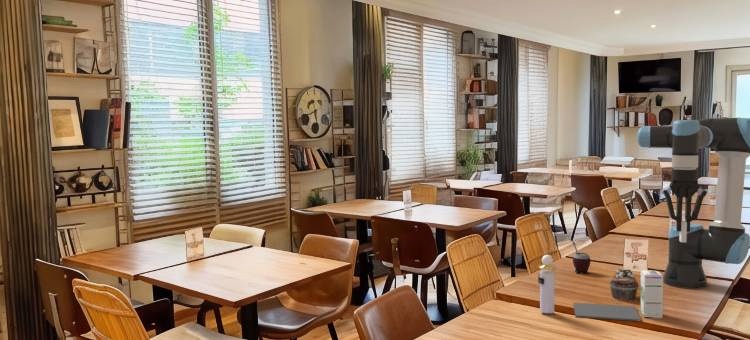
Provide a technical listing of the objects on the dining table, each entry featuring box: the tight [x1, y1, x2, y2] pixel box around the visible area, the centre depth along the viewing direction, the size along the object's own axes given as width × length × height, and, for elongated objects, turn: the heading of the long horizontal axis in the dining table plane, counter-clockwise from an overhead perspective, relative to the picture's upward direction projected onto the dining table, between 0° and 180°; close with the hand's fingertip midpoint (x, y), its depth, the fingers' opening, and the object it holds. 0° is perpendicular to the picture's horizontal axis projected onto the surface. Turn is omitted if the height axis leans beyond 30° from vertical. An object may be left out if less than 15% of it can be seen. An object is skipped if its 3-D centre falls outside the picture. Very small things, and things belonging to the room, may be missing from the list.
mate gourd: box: [567, 237, 591, 275], centre depth 250 cm, size 8×8×15 cm
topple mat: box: [572, 302, 642, 322], centre depth 199 cm, size 20×14×1 cm
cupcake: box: [609, 269, 640, 302], centre depth 215 cm, size 10×10×10 cm
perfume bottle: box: [537, 254, 557, 314], centre depth 199 cm, size 6×6×20 cm
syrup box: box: [640, 269, 664, 319], centre depth 195 cm, size 6×6×14 cm
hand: (682, 241), depth 191 cm, fingers closed
